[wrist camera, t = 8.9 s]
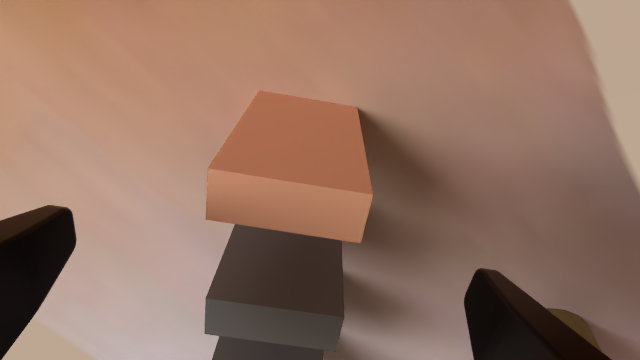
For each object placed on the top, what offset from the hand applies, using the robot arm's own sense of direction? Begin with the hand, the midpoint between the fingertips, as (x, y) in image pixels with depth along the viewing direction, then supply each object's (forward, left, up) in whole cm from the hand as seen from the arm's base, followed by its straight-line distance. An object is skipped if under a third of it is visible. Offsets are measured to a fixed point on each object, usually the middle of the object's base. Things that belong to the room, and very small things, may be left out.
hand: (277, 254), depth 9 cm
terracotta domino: (0, 0, -10) cm, 10 cm away
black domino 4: (-5, 0, -10) cm, 11 cm away
